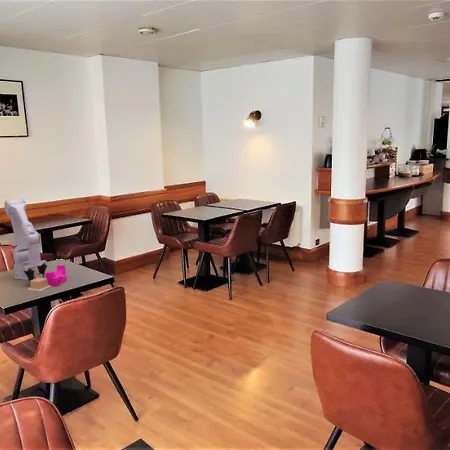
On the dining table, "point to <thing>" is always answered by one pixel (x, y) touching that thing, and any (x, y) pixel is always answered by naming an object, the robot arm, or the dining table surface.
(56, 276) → the toy block
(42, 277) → the sage brick
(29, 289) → the baseplate
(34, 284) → the terracotta brick
